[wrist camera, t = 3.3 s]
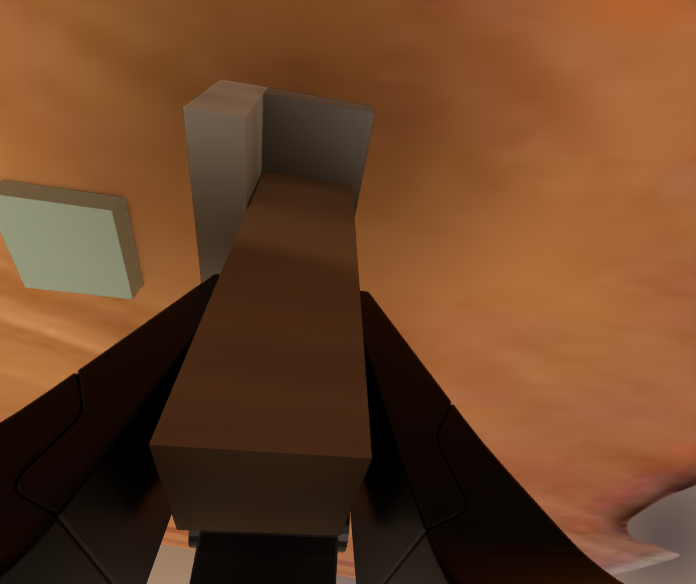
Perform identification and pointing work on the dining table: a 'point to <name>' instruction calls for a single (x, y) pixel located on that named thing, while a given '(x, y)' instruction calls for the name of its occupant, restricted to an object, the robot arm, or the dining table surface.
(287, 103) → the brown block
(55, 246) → the tile
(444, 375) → the dining table surface
